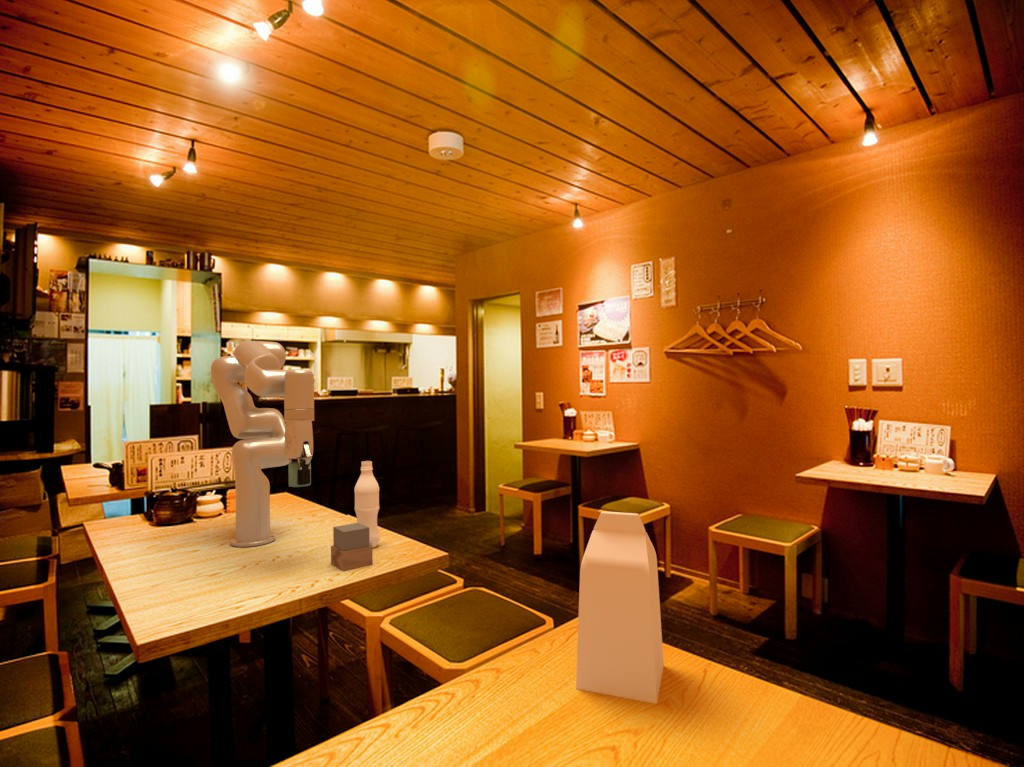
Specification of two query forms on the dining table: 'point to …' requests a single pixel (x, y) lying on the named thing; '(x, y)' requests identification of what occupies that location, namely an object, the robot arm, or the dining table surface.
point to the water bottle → (367, 501)
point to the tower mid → (351, 537)
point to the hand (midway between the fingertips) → (299, 482)
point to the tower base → (351, 558)
